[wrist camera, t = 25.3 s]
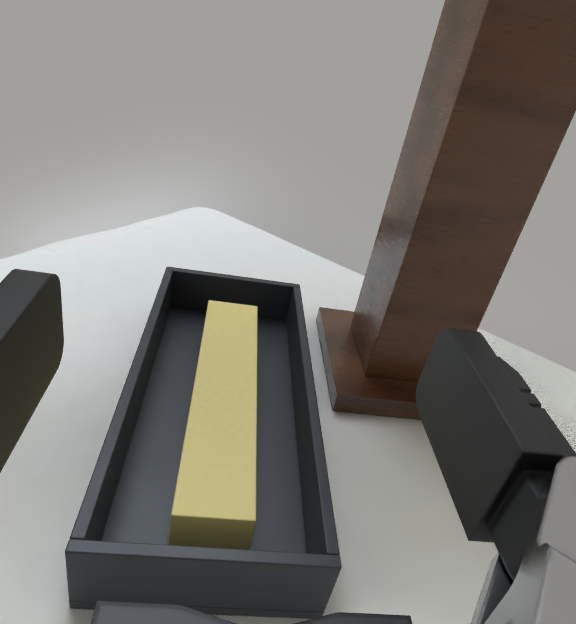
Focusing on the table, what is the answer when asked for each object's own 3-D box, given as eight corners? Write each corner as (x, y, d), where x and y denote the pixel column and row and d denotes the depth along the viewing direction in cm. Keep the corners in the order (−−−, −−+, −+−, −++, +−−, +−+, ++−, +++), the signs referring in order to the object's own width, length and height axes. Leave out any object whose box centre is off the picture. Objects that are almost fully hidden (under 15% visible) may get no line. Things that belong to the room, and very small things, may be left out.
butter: (246, 562, 24) (256, 520, 22) (167, 557, 23) (170, 514, 22) (251, 339, 40) (257, 305, 38) (204, 333, 40) (208, 299, 38)
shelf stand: (493, 436, 36) (818, -165, 19) (334, 420, 34) (540, -250, 18) (435, 330, 48) (605, -99, 31) (315, 315, 46) (427, -146, 30)
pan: (321, 619, 23) (342, 567, 21) (69, 608, 21) (64, 551, 19) (291, 324, 44) (299, 284, 42) (164, 308, 43) (166, 266, 41)
